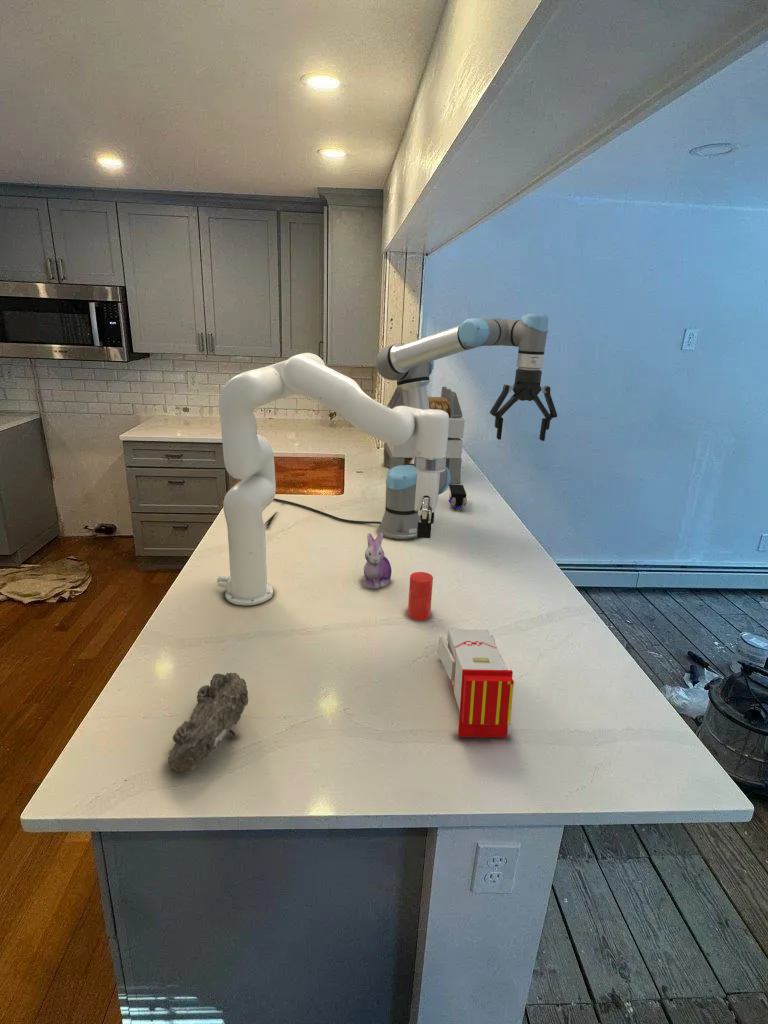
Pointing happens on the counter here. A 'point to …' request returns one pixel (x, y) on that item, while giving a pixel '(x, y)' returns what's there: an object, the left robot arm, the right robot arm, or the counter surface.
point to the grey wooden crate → (449, 404)
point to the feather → (270, 520)
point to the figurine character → (457, 496)
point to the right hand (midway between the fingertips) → (520, 439)
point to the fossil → (209, 721)
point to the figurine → (376, 564)
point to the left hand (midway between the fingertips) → (425, 530)
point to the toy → (478, 682)
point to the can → (420, 595)
